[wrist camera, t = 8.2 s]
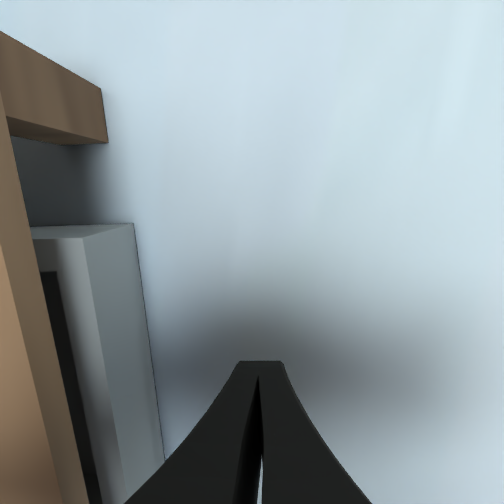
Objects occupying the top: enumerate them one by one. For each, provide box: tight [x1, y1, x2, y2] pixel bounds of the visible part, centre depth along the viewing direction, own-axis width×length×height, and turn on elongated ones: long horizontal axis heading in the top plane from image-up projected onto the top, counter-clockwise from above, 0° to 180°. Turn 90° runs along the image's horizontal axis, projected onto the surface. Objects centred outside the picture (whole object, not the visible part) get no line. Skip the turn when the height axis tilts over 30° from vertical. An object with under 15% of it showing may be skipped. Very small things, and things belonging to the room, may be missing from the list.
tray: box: [30, 223, 165, 504], centre depth 9 cm, size 7×10×3 cm
